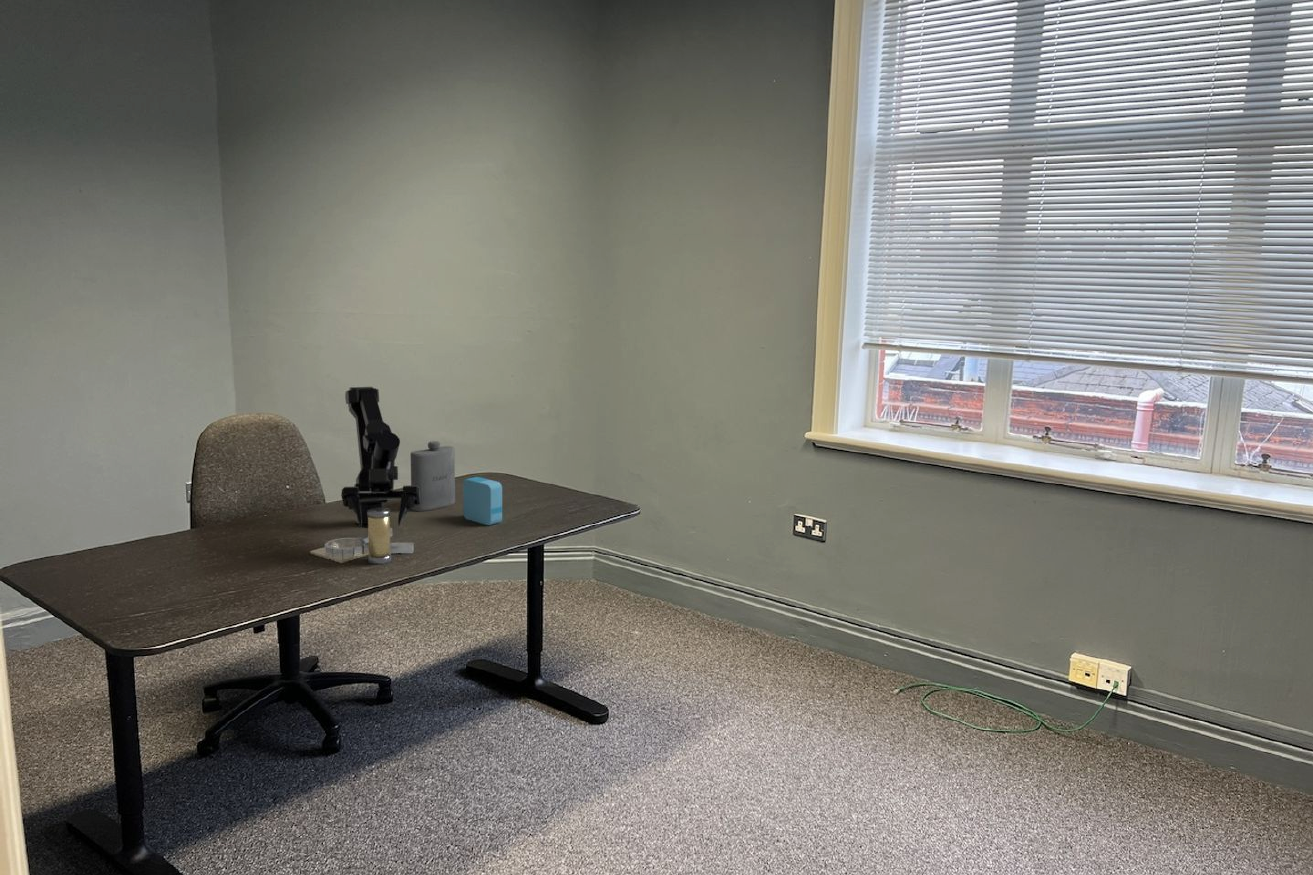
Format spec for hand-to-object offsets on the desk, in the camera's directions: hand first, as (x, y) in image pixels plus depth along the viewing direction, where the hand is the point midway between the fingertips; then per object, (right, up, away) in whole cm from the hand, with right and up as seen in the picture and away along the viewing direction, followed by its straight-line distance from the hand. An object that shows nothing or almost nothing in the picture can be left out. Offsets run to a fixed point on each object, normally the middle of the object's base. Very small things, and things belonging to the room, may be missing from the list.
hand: (379, 525), depth 230 cm
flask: (+1, +1, +52) cm, 52 cm away
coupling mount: (-5, -7, +8) cm, 12 cm away
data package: (+18, -3, +38) cm, 42 cm away
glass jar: (0, -9, 0) cm, 9 cm away
